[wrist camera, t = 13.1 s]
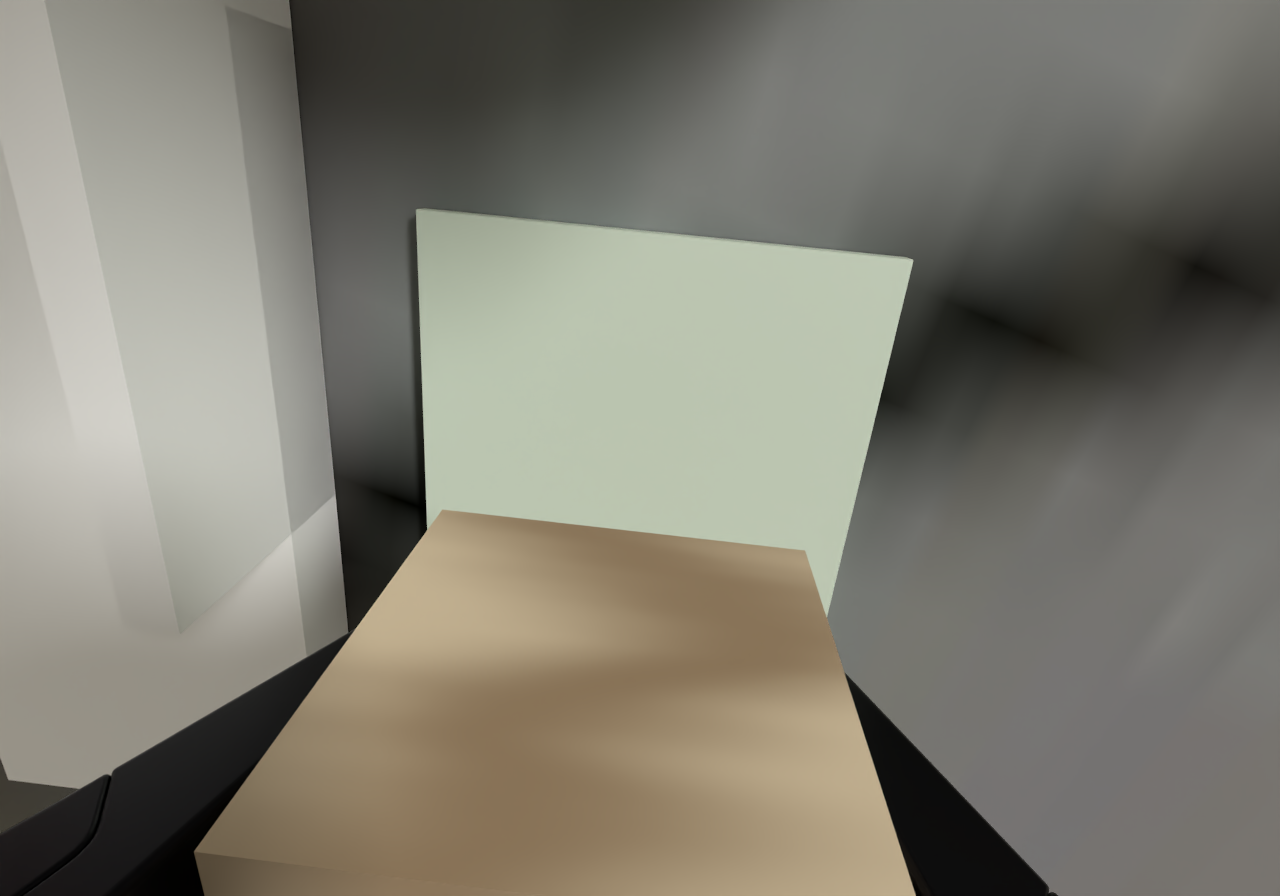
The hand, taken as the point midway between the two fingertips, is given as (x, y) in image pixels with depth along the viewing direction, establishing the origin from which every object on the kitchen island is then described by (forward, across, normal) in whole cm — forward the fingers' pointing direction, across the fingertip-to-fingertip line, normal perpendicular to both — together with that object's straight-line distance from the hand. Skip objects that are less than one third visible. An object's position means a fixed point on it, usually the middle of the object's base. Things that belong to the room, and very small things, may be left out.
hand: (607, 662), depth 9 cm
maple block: (+1, 0, +1) cm, 1 cm away
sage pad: (+7, 0, 0) cm, 7 cm away
